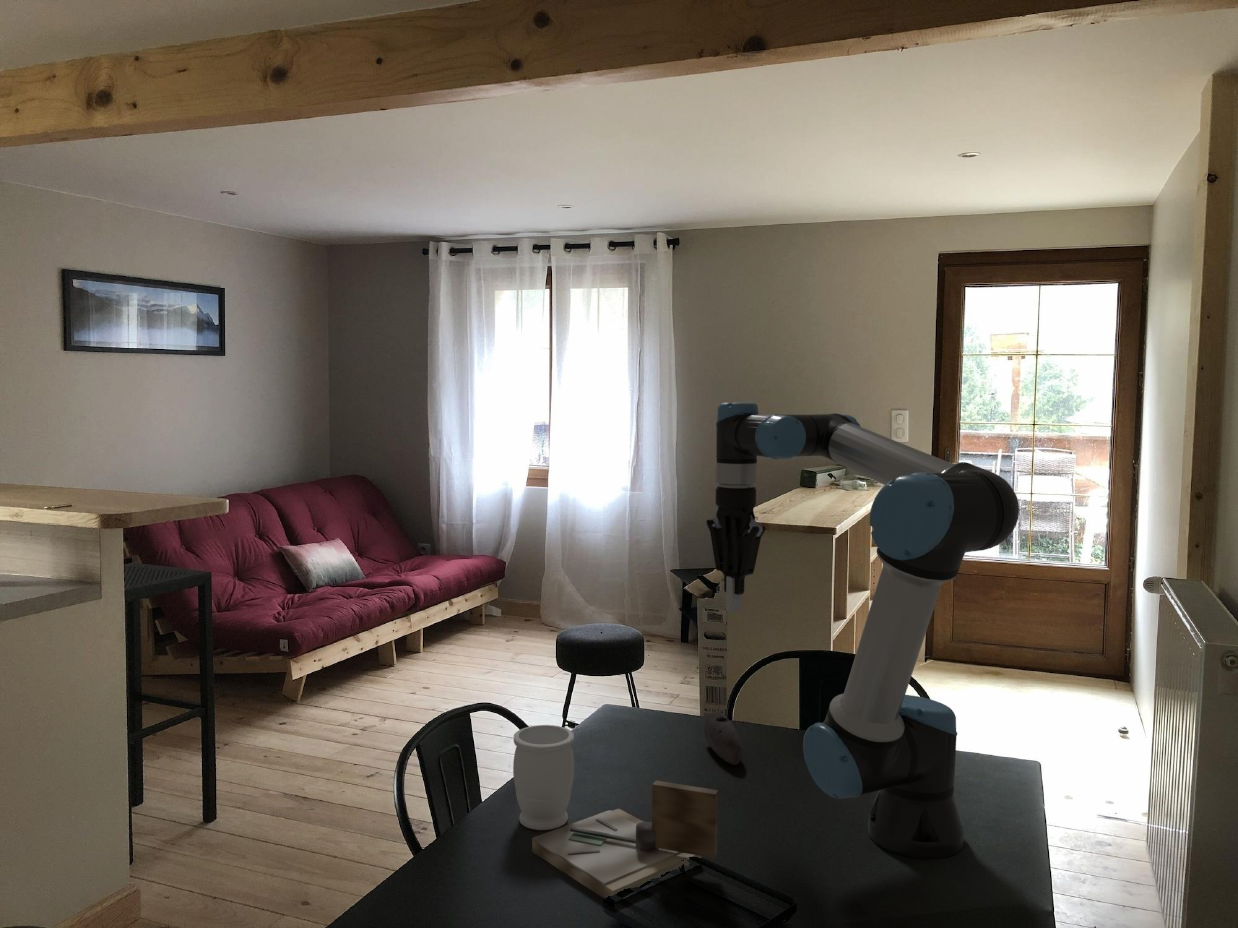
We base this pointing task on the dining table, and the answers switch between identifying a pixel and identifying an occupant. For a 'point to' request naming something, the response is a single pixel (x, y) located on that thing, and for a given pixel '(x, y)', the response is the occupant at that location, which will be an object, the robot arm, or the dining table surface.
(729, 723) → the perforated stone tool
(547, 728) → the jar
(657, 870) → the light wood flat board
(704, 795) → the peg
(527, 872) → the dining table surface
